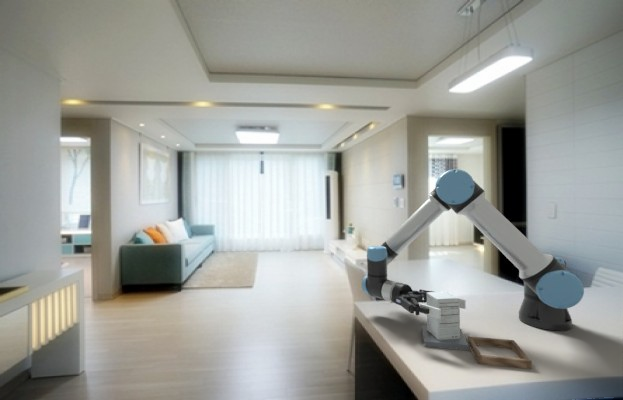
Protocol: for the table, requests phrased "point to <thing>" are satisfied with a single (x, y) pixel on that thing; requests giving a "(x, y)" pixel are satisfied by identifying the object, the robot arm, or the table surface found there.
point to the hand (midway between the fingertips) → (453, 309)
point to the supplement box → (444, 315)
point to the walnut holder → (498, 360)
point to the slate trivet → (444, 341)
